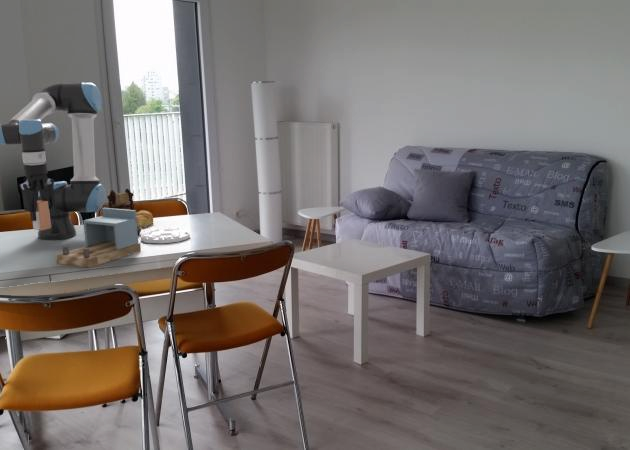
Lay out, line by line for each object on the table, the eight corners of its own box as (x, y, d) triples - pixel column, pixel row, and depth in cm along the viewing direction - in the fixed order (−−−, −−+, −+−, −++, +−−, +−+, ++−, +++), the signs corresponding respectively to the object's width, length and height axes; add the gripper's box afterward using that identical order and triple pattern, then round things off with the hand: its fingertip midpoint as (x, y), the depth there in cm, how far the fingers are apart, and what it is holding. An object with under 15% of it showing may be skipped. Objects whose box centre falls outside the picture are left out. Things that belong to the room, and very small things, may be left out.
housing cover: (85, 245, 238) (82, 212, 236) (106, 239, 248) (104, 207, 246) (117, 249, 232) (115, 215, 229) (138, 243, 241) (135, 210, 239)
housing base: (56, 262, 227) (55, 246, 226) (109, 247, 250) (108, 232, 248) (90, 267, 220) (88, 250, 219) (140, 250, 243) (139, 235, 242)
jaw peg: (33, 229, 228) (30, 202, 226) (42, 227, 231) (39, 200, 229) (41, 230, 226) (38, 203, 224) (50, 228, 230) (47, 201, 227)
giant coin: (177, 246, 252) (177, 238, 251) (132, 244, 256) (131, 237, 255) (196, 235, 271) (196, 228, 271) (154, 233, 275) (153, 226, 274)
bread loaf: (147, 236, 285) (154, 220, 284) (126, 227, 282) (133, 211, 281) (151, 226, 305) (158, 211, 304) (131, 217, 303) (138, 202, 302)
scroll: (132, 230, 281) (128, 185, 277) (147, 235, 270) (144, 189, 266) (99, 235, 271) (95, 189, 267) (114, 241, 260) (110, 193, 256)
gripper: (22, 167, 214) (30, 233, 220) (61, 161, 229) (68, 224, 235) (6, 166, 218) (15, 232, 223) (46, 160, 233) (53, 222, 238)
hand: (42, 227), depth 229 cm, fingers closed on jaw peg, 4 cm apart
